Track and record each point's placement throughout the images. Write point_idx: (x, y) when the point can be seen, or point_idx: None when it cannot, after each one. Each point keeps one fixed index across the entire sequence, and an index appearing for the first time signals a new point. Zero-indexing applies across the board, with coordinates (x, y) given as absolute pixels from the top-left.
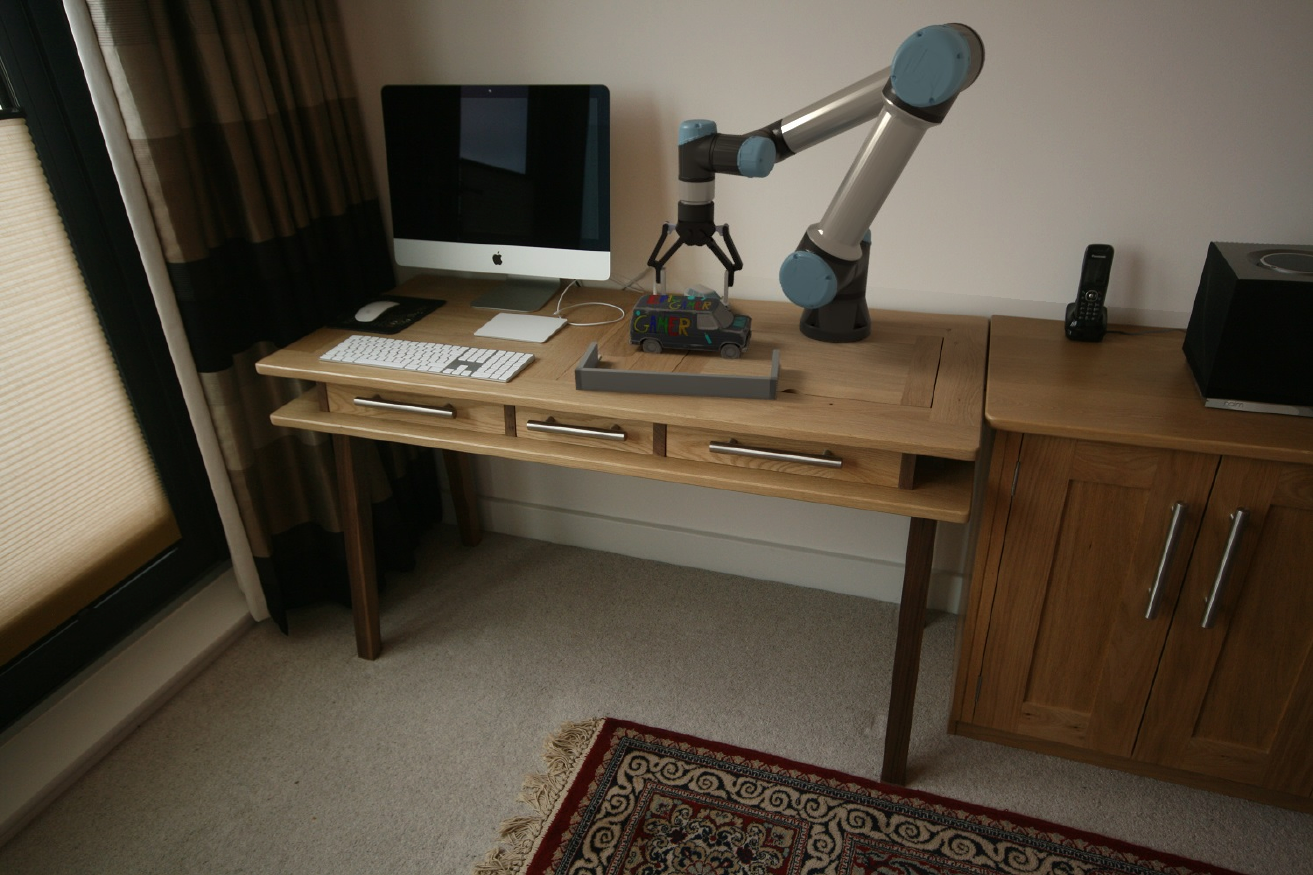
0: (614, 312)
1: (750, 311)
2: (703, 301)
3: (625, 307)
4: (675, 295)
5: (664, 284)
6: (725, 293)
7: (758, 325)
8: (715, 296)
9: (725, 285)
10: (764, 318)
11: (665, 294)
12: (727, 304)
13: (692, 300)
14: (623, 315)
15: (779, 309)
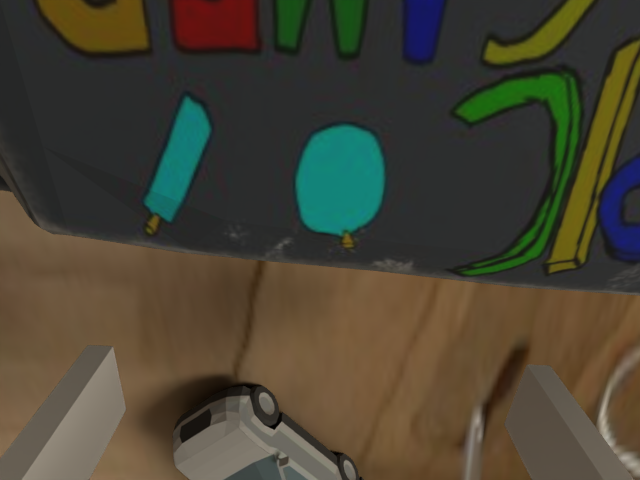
0: (636, 414)
1: (113, 448)
2: (164, 57)
3: None
4: (519, 253)
5: (583, 477)
6: (60, 402)
7: (37, 328)
8: None
9: (16, 468)
10: (37, 394)
11: (516, 424)
12: (179, 451)
13: (318, 83)
14: (608, 391)
15: None
